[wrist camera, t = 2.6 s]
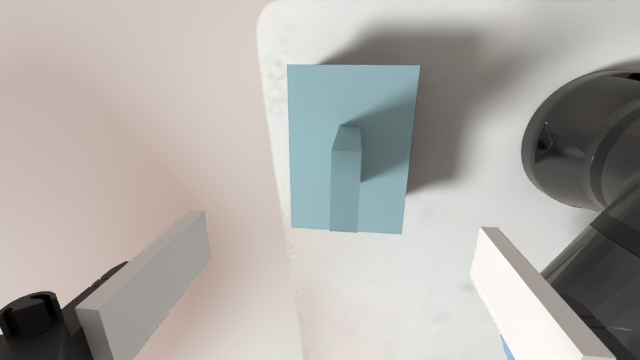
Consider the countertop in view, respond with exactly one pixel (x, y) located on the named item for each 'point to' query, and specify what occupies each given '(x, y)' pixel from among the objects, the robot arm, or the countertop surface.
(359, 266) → the countertop surface
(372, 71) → the lid
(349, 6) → the countertop surface
